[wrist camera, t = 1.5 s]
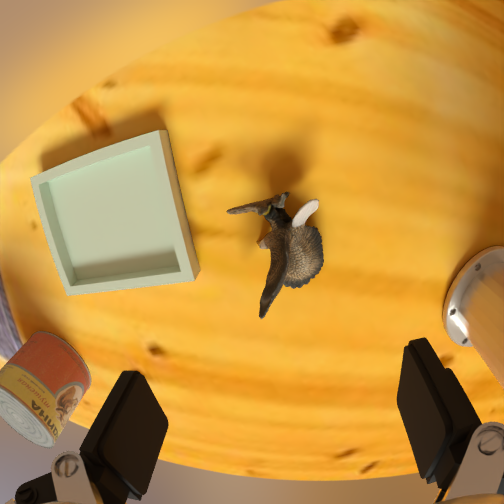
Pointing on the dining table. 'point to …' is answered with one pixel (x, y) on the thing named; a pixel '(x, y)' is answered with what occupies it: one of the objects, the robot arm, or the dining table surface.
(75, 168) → the tray
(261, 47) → the dining table surface
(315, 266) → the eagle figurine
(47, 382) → the canned food
